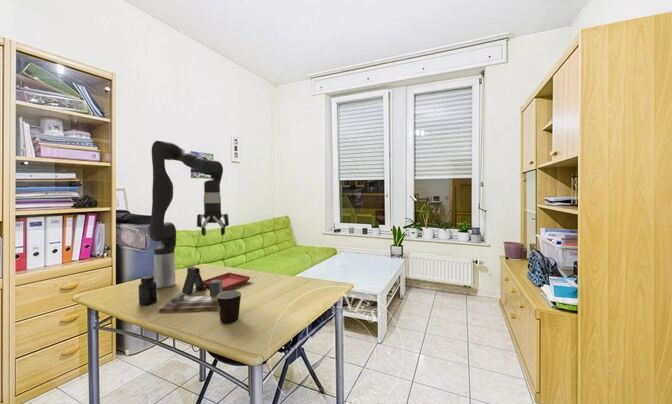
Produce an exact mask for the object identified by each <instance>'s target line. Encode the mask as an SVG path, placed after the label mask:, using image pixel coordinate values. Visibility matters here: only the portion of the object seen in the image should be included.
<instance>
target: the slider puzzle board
mask: <svg viewBox="0 0 672 404" xmlns="http://www.w3.org/2000/svg"><path fill="white" fill-rule="evenodd" d="M203 311H204V312H207V311H219V306H218V300H217V301H211V297H210V295H200V296H198V295H197V296H194V295H193V296H186V294H185V293H182V292H180V293H179V292H178V293H177V294H176V295H175V296H173V298H171V299H169V301H168V302H166V303H165V304H163V305H162V306H160V307H159V309H158V313H179V312H183V313H184V312H203Z"/></svg>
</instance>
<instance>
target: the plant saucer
mask: <svg viewBox="0 0 672 404" xmlns="http://www.w3.org/2000/svg"><path fill="white" fill-rule="evenodd" d="M250 279H251V276H248V275H243V274H238V273H233V272H226V273H223V274H220V275H216V276H213V277H211V278H207V279H204V280H203V283H204V285H205V288H206V287H207V288H210V282H211V281H212V280H222V292H225V291H229V290H231V289H234V288H236V287H238V286H241V285H244V284H246V283H248V282H249V280H250Z"/></svg>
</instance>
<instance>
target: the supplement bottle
mask: <svg viewBox="0 0 672 404" xmlns="http://www.w3.org/2000/svg"><path fill="white" fill-rule="evenodd" d="M153 280H154V276H153V274H152V275H149V274H148V275H144V276H142V277H140V283H139V284H138V286H137V287H138V305H139V306H140V307H147V306H153V305H155V304H156V303H157V302H158V288H157V283H156V282H155V281H153Z"/></svg>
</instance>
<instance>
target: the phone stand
mask: <svg viewBox="0 0 672 404" xmlns="http://www.w3.org/2000/svg"><path fill="white" fill-rule="evenodd" d="M186 270H187V271H186V272H187V273H186V277H185V280H184V284H183V287H182V291H181V293H185V295H188V296H190V295H194V294H197V293H200V292H203V291H206V290H207V288H206V286H205V285H204V283H203V281H204V280H203V279H202V275H201V274H200V271H201V270H200V268H199V267H196V266H195V267H194V266H188V267H187V269H186ZM194 286H195V287H194Z"/></svg>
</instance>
